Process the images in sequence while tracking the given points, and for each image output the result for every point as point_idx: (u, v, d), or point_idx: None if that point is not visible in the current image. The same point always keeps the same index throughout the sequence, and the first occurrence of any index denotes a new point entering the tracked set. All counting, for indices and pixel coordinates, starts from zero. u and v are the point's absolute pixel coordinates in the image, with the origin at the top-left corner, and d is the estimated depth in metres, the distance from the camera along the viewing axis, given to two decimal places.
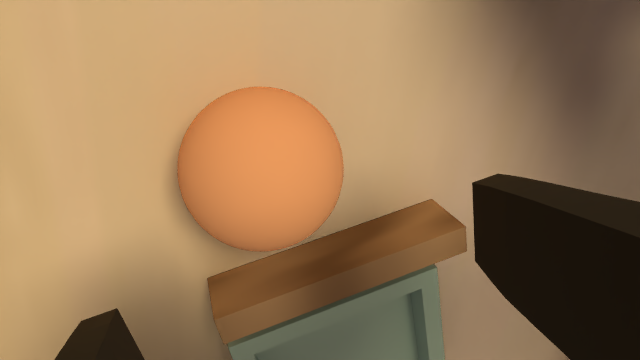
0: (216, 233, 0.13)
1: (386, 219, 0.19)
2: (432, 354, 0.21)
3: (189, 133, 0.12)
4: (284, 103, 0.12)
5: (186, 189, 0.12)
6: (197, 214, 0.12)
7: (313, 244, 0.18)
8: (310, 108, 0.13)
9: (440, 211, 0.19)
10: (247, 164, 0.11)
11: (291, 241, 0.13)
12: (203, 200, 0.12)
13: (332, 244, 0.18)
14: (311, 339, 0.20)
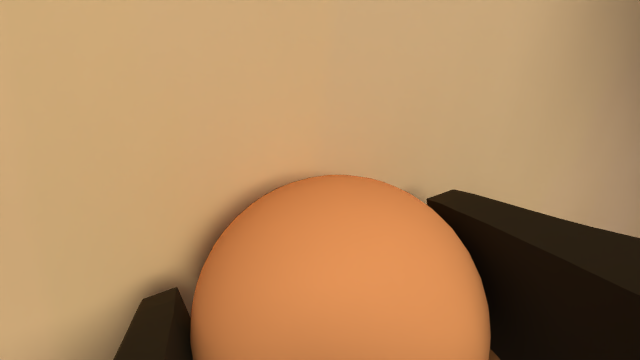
0: None
1: None
2: None
3: (214, 279, 0.07)
4: (399, 226, 0.06)
5: None
6: None
7: None
8: (439, 224, 0.07)
9: None
10: None
11: None
12: None
13: None
14: None
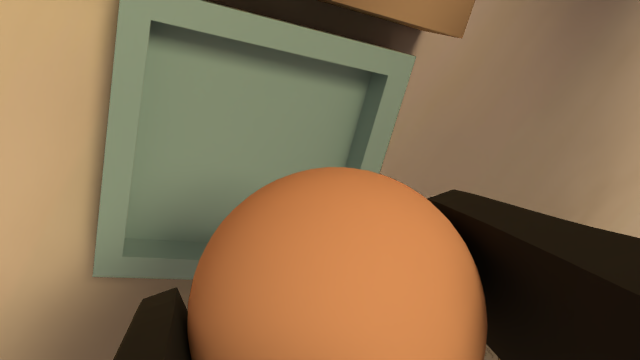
0: None
1: None
2: None
3: (213, 268, 0.06)
4: (398, 215, 0.06)
5: None
6: None
7: None
8: (437, 215, 0.07)
9: None
10: None
11: None
12: None
13: None
14: (225, 88, 0.15)
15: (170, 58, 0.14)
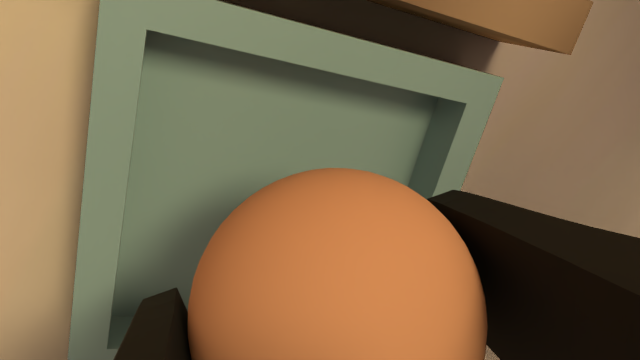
0: None
1: None
2: None
3: (213, 269, 0.06)
4: (398, 216, 0.06)
5: None
6: None
7: None
8: (437, 216, 0.07)
9: None
10: None
11: None
12: None
13: None
14: (247, 119, 0.11)
15: (174, 81, 0.10)
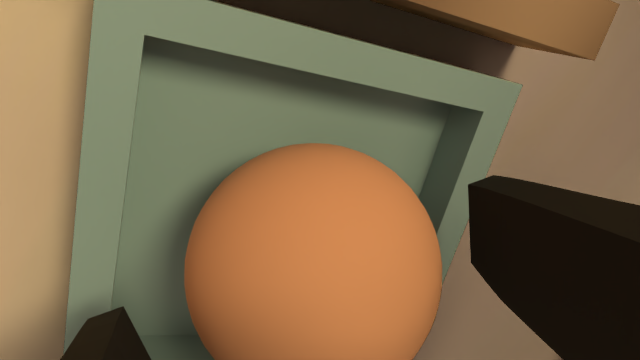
0: None
1: None
2: None
3: (206, 225, 0.08)
4: (363, 179, 0.07)
5: (201, 319, 0.07)
6: (218, 358, 0.08)
7: None
8: (398, 182, 0.08)
9: None
10: (312, 293, 0.07)
11: None
12: (230, 345, 0.07)
13: None
14: (252, 129, 0.10)
15: (173, 89, 0.09)
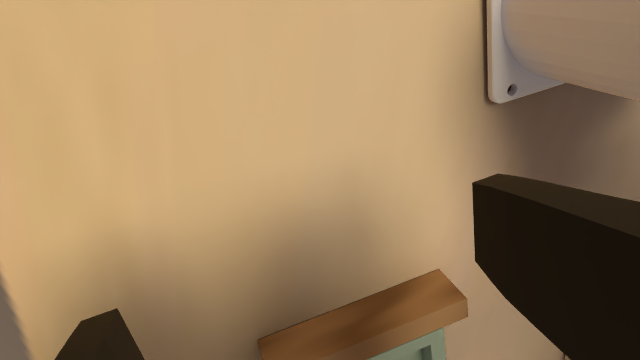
0: None
1: (402, 288, 0.23)
2: None
3: None
4: None
5: None
6: None
7: (342, 310, 0.22)
8: None
9: (446, 282, 0.23)
10: None
11: None
12: None
13: (358, 311, 0.22)
14: None
15: None
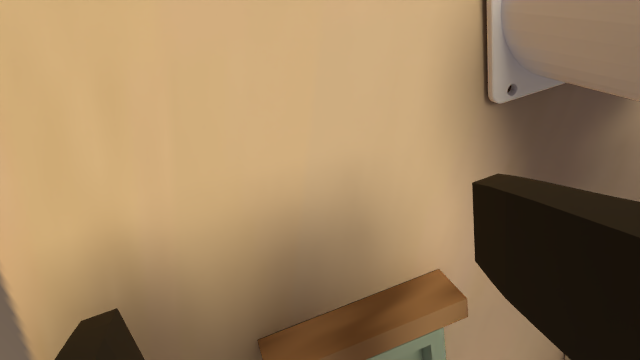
0: None
1: (402, 288, 0.23)
2: None
3: None
4: None
5: None
6: None
7: (342, 310, 0.22)
8: None
9: (446, 282, 0.23)
10: None
11: None
12: None
13: (358, 311, 0.22)
14: None
15: None
